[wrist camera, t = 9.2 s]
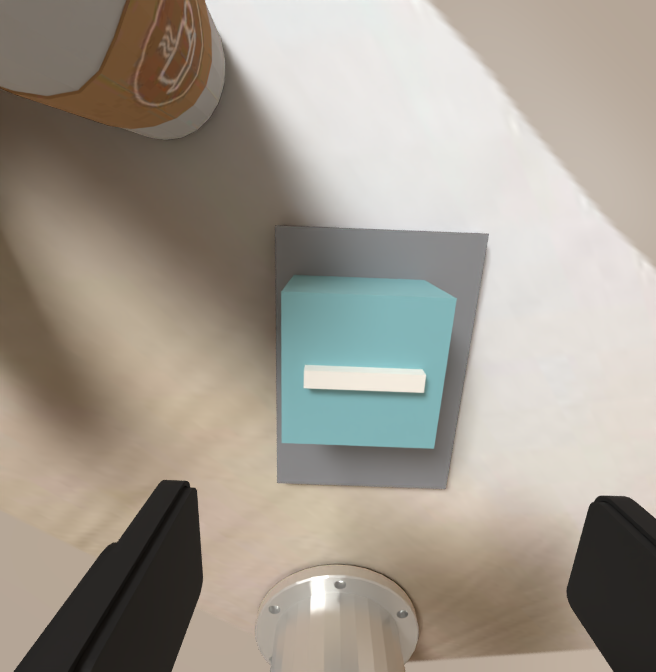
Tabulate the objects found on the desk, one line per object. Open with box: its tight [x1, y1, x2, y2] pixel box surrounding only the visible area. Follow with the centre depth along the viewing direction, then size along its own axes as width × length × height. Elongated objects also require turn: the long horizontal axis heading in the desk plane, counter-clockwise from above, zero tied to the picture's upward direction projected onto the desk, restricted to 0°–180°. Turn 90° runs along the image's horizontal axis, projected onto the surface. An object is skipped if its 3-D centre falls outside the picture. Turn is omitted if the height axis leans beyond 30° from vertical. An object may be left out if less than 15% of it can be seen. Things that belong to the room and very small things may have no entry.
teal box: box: [281, 275, 457, 449], centre depth 17 cm, size 7×7×6 cm
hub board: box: [275, 226, 489, 489], centre depth 19 cm, size 16×11×5 cm
